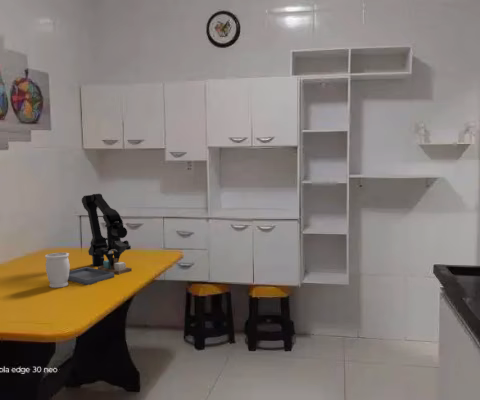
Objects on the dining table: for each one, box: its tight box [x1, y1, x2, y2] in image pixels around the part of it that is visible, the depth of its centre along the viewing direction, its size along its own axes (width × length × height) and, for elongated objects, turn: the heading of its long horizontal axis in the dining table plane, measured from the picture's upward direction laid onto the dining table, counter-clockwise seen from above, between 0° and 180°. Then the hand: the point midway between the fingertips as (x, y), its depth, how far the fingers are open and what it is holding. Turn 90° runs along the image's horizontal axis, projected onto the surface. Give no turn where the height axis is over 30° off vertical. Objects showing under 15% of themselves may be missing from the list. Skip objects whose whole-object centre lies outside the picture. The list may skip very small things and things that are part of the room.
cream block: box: [114, 261, 127, 271], centre depth 258 cm, size 4×4×4 cm
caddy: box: [97, 257, 133, 275], centre depth 261 cm, size 18×8×7 cm, turn 52°
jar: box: [44, 252, 71, 289], centre depth 234 cm, size 11×10×15 cm
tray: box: [67, 266, 115, 286], centre depth 248 cm, size 23×16×2 cm
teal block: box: [103, 259, 111, 269], centre depth 264 cm, size 4×4×4 cm
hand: (114, 265), depth 261 cm, fingers closed on caddy, 2 cm apart
